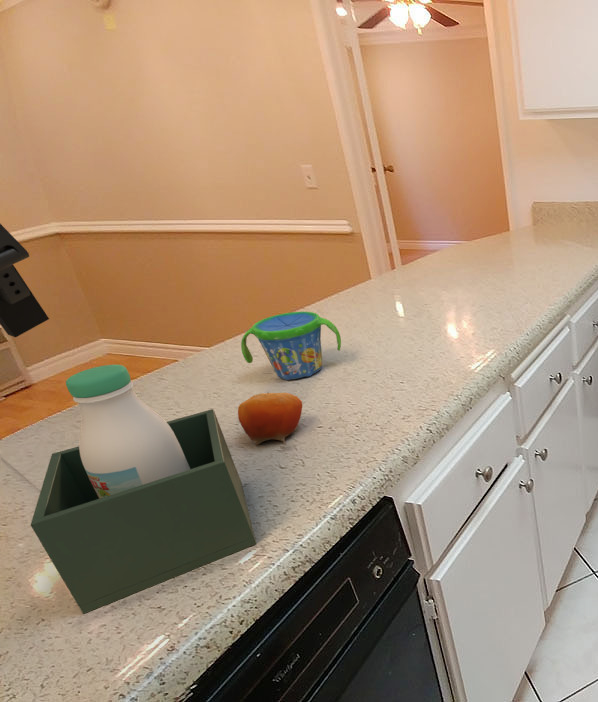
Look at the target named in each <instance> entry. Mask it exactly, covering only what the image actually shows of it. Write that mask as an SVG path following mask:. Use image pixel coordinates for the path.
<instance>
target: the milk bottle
mask: <svg viewBox="0 0 598 702" xmlns="http://www.w3.org/2000/svg"><path fill="white" fill-rule="evenodd" d="M130 375H131V374H130V373H129V371H128V368H127V367H125V365H122V364H106V365H105V364H104V365H99V366H94V367H92V368H87V369H85V370H82V371H79V372H76V373H75V374H73V375H71V376H69V377H68V378H67V379H66V380H65V386H66V389H67V390H68V392H69V394H70V395H71V396H72V401H73V402H74V403H77V404H78V405H79V408H80V413H81V427H80V433H79V441H78V446H79V451H80V457H81V460H82V463H83V466H84V468H85V470H86V473H87V475H88V477H89V479H90V481H91V483H92V485H93V487H94V489H95V491H96V493H97V495H98V497H99V499H100V498H103V497H106V496H109V495H112V494H116V493H119V492H122V491H125V490H128V489H131V488H134V487H137V486H140V485H143V484H147V483H150V482H153V481H156V480H159V479H162V478H165V477H168V476H171V475H175V474H178V473H181V472H184V471H187V470H190V467H189V465H188V462H187V460H186V458H185V455H184V453H183V451H182V449H181V446H180V444H179V442H178V440H177V438H176V436H175V434H174V432H173V431H172V429H171V427H170V426H169V425H168V423H167V422H168V421H166V420H165V419H164V418H163V416H161V415H160V414H158V413H157V412H156V411H154V410H153V409H152V408H151V407H150V406H148V405H147V404H146V403H145V402H143V401H142V400H141V399H140V398H139V396H137V394H136V393H135V391H134V389H133V387H134V382H132V379H131V376H130Z"/></svg>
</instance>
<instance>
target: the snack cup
mask: <svg viewBox="0 0 598 702" xmlns="http://www.w3.org/2000/svg"><path fill="white" fill-rule="evenodd" d="M322 325H324V326H326V327H327V328H328V329H329V330H330V331H331V332H332V333H334V335H335V337H336V343H337V349H336V350H337V351H341V346H342V337H341V334H340V332H339V330H338V328H337V326H336V325H335V324H334V323H333V322H332V321H330V320H329V319H327V318H324V317H321V316H320V315H319V314H318V313H315V312H313V311H292V312H285V313H279V314H274V315H271V316H268V317H265V318H262V319H261V320H259V321H257V322H255V323H254V324H253V325H252V326H251V327H250V328H249V329H248V330H247V331H246V332H245V334H243V336H242V339H241V344H240V345H241V347H240V348H241V354H242V356H243V358H244V361H246V363H248V364H252V363H253V361H254V358H253V355H252V354H251V351H250V349H249V348H248V346H247V340H248V339H247V338H248V337H249V335H253V336H254V337H256V339H258V341H259V343H260V345H261V347H262V349H263V351H264V353H265V356H266V357H267V359H268V361H269V363H270V365H271V367H272V368H273V370H274V373H275V374H276V375H277V377H278V378H279V379H283V380H286V381H289V380H297V379H301V378H304V377H311V376H312V375H314V374H317V373H318V372H319V371H320V370H321V369H323V367H324V366H323V363H324V362H323V352H322V340H321V337H322V335H321V334H322Z"/></svg>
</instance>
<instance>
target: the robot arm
mask: <svg viewBox="0 0 598 702" xmlns="http://www.w3.org/2000/svg"><path fill="white" fill-rule="evenodd" d="M28 258H30V253H29V252H28V251H27V249H26V248H25V247H24V246H23V245H22V244H21V243H20V242H19V241H18V240H17V239H16V238H15V237H14V236H13V235H12V233H10V232H9V231H8V230H7V229H6V228H5V226H4V225H3V224H2V223H0V326H1V328H2V329H3V330H4V331H5V333H6V334H7V335H8V336H10V337H13V338H17V337H20V336H21V335H23V334H25V333H27V332H28V331H31V330H32V329H35V328H36V327H37V326H39V325H41V324H43V323H45V322H47V321H48V320H50V317H49V316H48V315H47V313H46V312H45V310H44V309H43V307H42V306H41V304H40V302H39V301H38V299H37V298H36V297H35V295H34V294H33V292H32V291H31V288H30V287H29V286H28V285H27V283H26V281H25V280H24V279H23V277H22V276H21V274H20V273H19V271H18V270H17V268H16V267H15V265H16V264H18V263H20V262H22V261H23V260H26V259H28Z"/></svg>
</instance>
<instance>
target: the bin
mask: <svg viewBox="0 0 598 702" xmlns="http://www.w3.org/2000/svg"><path fill="white" fill-rule="evenodd" d="M166 422H167V423H168V425H169V426H170V427H171V429H172V431H173V432H174V434H175V436H176V438H177V440H178V442H179V444H180V446H181V449H182V451H183V453H184V455H185V458H186V460H187V462H188V465H189V467H190V470H187V471H184V472H181V473H178V474H175V475H171V476H168V477H165V478H162V479H159V480H156V481H153V482H150V483H147V484H143V485H140V486H137V487H134V488H131V489H128V490H125V491H122V492H119V493H116V494H112V495H109V496H106V497H103V498H100V499H99V497H98V495H97V493H96V491H95V489H94V487H93V485H92V483H91V481H90V479H89V477H88V475H87V473H86V470H85V468H84V466H83V463H82V460H81V457H80V451H79V445H78V446H75V447H72V448H68V449H65V450H60V451H56V452H53V453H51V456H50V459H49V461H48V465H47V469H46V472H45V476H44V479H43V482H42V486H41V489H40V491H39V495H38V499H37V502H36V505H35V509H34V512H33V516H32V519H31V522H30V527H31V528H32V530H33V532H34V534H35V536H36V537H37V539H38V540H39V542H40V544H41V545H42V547H43V548H44V551H45V552H46V554H47V556H48V557H49V559H50V561H51V562H52V564H53V566H54V568H55V569H56V571H57V573H58V575H59V576H60V577H61V579H62V581H63V583H64V584H65V586H66V588H67V590H68V592H69V593H70V594H71V596H72V598H73V599H74V601H75V603H76V605H77V606H78V608H79V610H80V611H81V613H82V614H88V613H90V612H92V611H94V610H97V609H99V608H102V607H105V606H107V605H109V604H112V603H114V602H117V601H119V600H121V599H124V598H127V597H129V596H131V595H134V594H136V593H139V592H142V591H143V590H146V589H148V588H151V587H154V586H156V585H159V584H162V583H163V582H166V581H169V580H171V579H174V578H176V577H179V576H181V575H183V574H186V573H188V572H190V571H193V570H195V569H198V568H200V567H203V566H205V565H208V564H211V563H213V562H215V561H218V560H220V559H222V558H226V557H228V556H230V555H233V554H235V553H237V552H240V551H242V550H245V549H247V548H250V547H252V546H255V545H257V540H256V536H255V532H254V528H253V524H252V520H251V517H250V512H249V507H248V503H247V499H246V495H245V491H244V488H243V483H242V480H241V478H240V476H239V473H238V470H237V467H236V465H235V462H234V459H233V457H232V454H231V451H230V449H229V447H228V443H227V440H226V439H225V438H226V437H225V436H224V433H223V430H222V428H221V424H220V423H219V420H218V417H217V415H216V412H215V410H214V408H211V409H208V410H204V411H201V412H197V413H192V414H190V415H187V416H183V417H179V418H175V419H172V420H169V421H166Z"/></svg>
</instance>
